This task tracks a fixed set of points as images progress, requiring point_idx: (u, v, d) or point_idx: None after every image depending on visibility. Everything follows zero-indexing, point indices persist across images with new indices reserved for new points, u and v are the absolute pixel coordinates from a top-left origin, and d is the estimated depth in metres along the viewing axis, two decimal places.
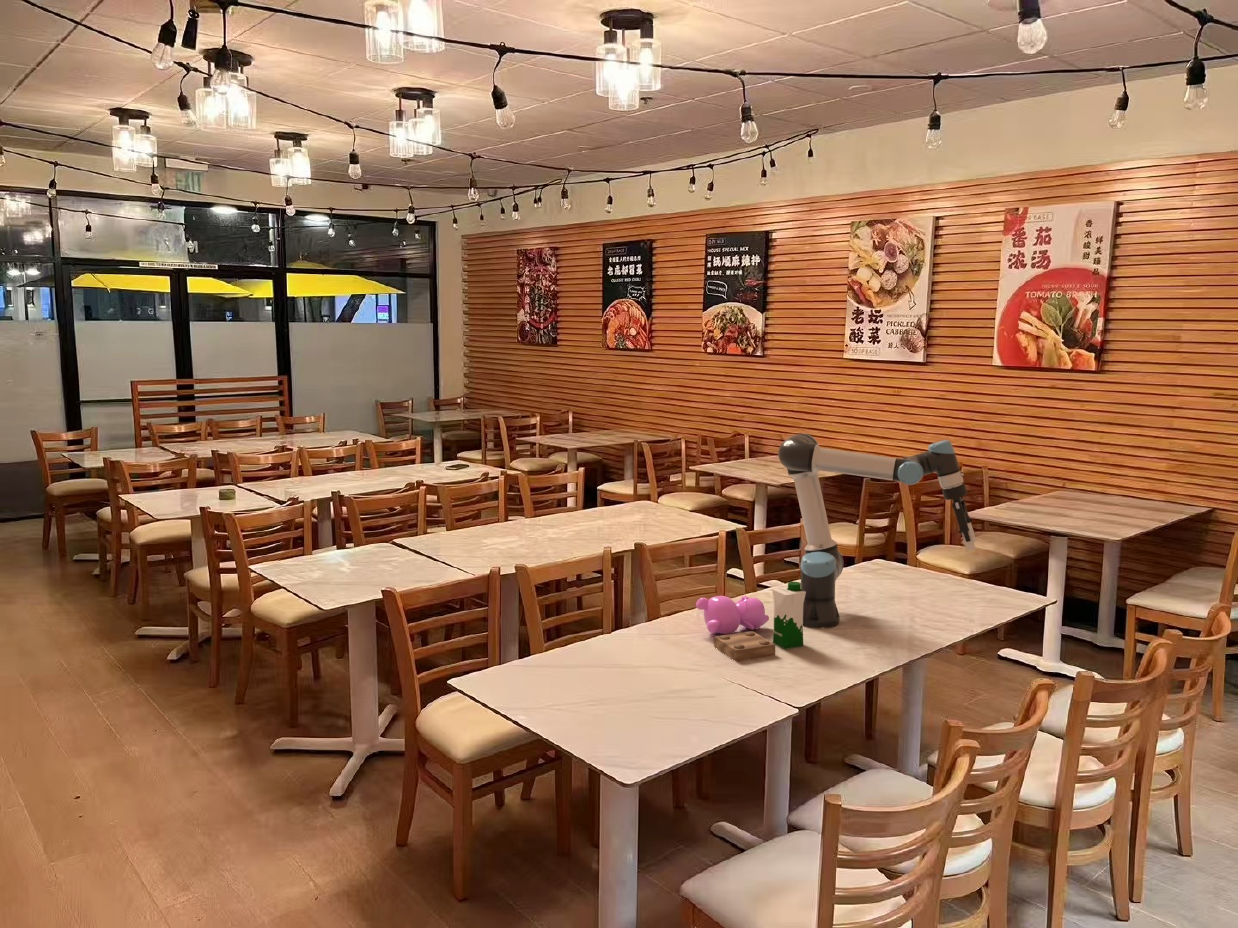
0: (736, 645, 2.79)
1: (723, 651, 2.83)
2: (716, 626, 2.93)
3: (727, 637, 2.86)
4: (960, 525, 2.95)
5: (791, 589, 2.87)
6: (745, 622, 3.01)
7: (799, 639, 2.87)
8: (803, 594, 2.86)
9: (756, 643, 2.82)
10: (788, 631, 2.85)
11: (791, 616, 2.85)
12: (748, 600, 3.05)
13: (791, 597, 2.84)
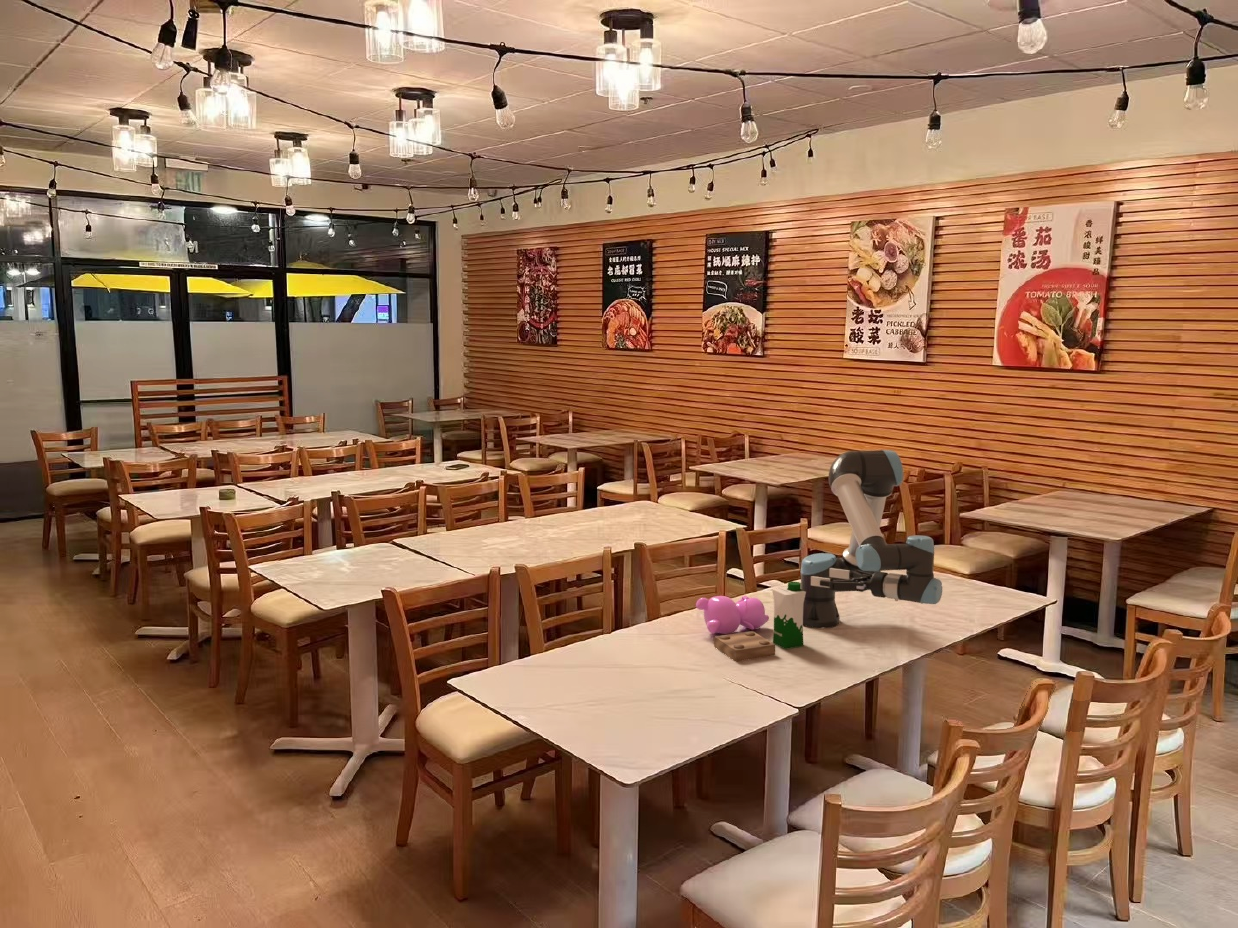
0: (736, 645, 2.79)
1: (723, 651, 2.83)
2: (716, 626, 2.93)
3: (727, 637, 2.86)
4: (836, 584, 2.68)
5: (791, 589, 2.88)
6: (745, 622, 3.01)
7: (799, 639, 2.87)
8: (803, 594, 2.86)
9: (756, 643, 2.82)
10: (788, 631, 2.85)
11: (791, 616, 2.85)
12: (748, 600, 3.05)
13: (791, 597, 2.84)
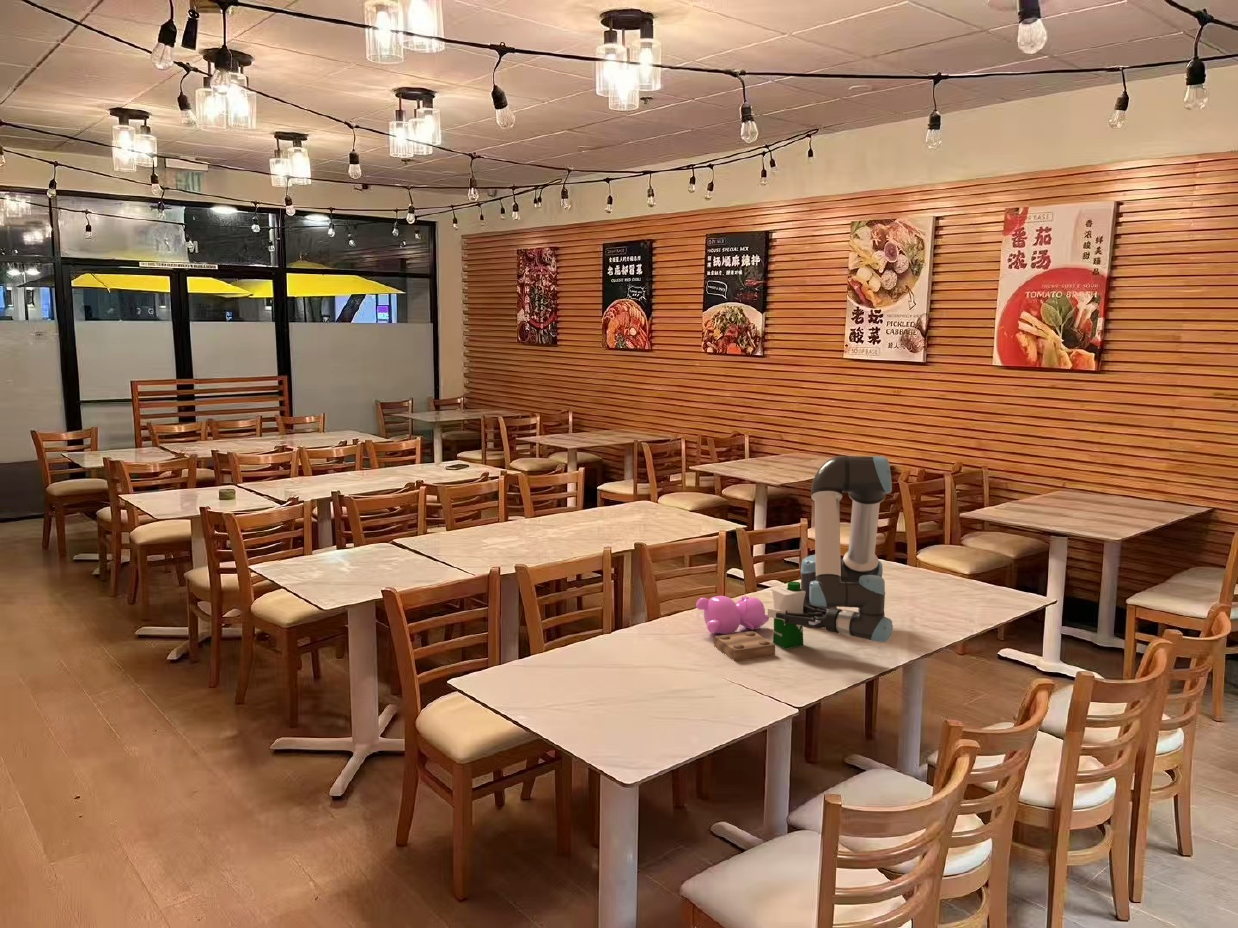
0: (736, 645, 2.79)
1: (723, 651, 2.83)
2: (716, 626, 2.93)
3: (727, 637, 2.86)
4: (790, 617, 2.80)
5: (791, 589, 2.87)
6: (745, 622, 3.01)
7: (799, 639, 2.87)
8: (803, 594, 2.86)
9: (756, 643, 2.82)
10: (788, 630, 2.85)
11: None
12: (748, 600, 3.05)
13: (791, 597, 2.84)
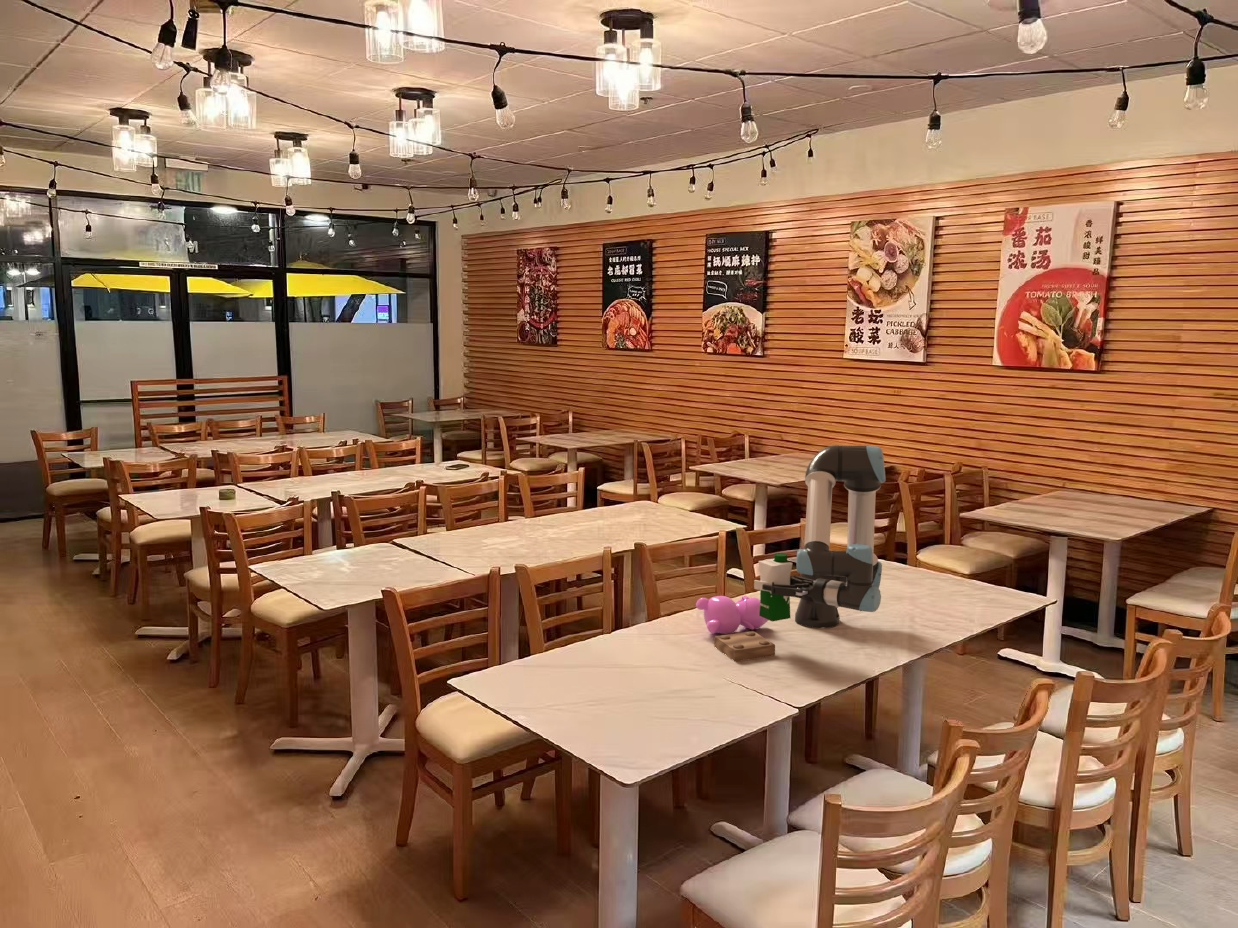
0: (736, 645, 2.79)
1: (723, 651, 2.83)
2: (716, 626, 2.93)
3: (727, 637, 2.86)
4: (777, 588, 2.76)
5: (778, 560, 2.83)
6: (745, 622, 3.01)
7: (786, 611, 2.83)
8: (790, 565, 2.82)
9: (756, 643, 2.82)
10: (775, 602, 2.81)
11: None
12: (748, 600, 3.05)
13: (778, 568, 2.80)
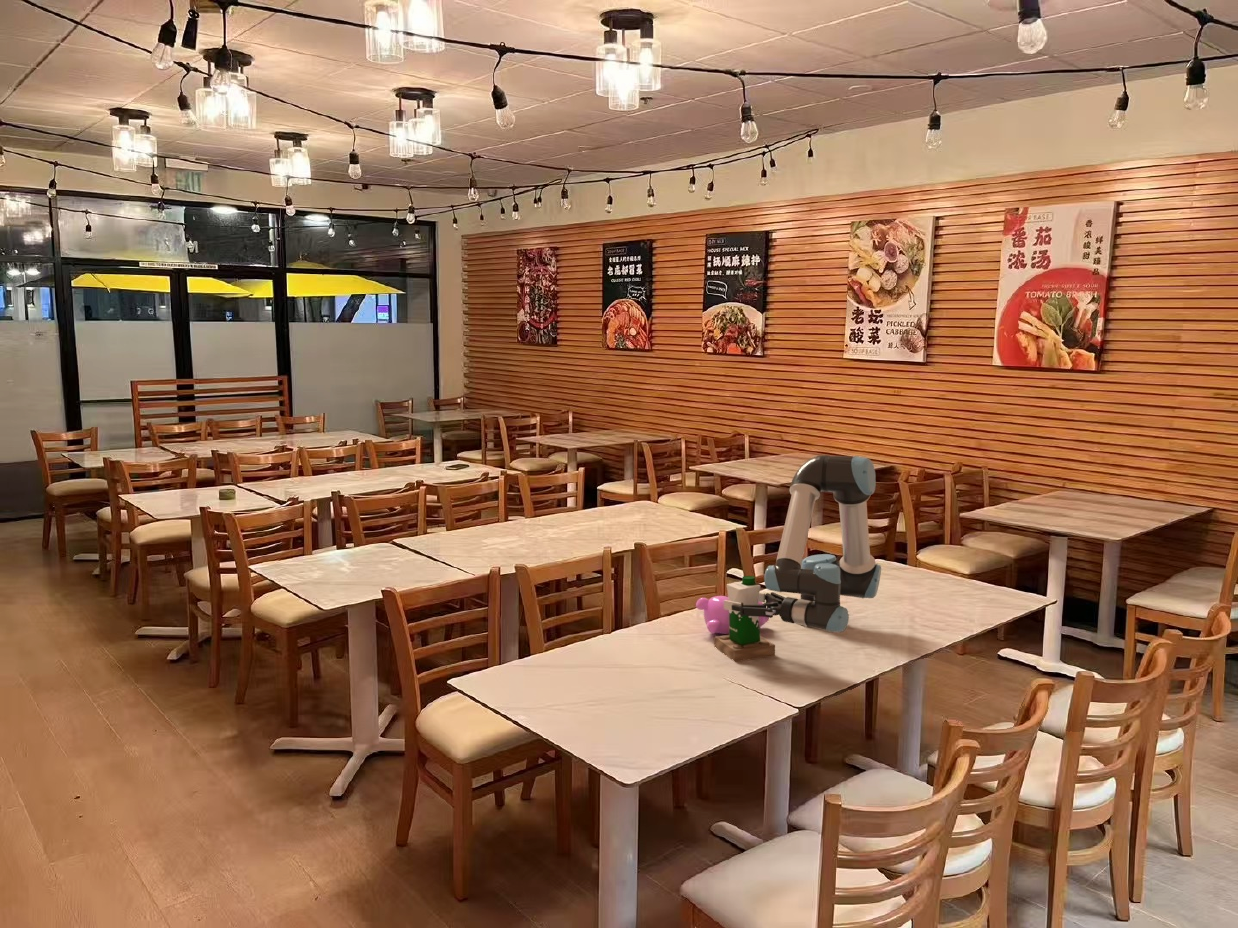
0: (735, 645, 2.79)
1: (723, 652, 2.83)
2: (716, 626, 2.93)
3: (727, 637, 2.87)
4: (746, 609, 2.71)
5: (745, 583, 2.81)
6: None
7: (755, 634, 2.81)
8: (758, 588, 2.79)
9: (756, 643, 2.82)
10: (744, 626, 2.79)
11: None
12: None
13: (745, 591, 2.77)
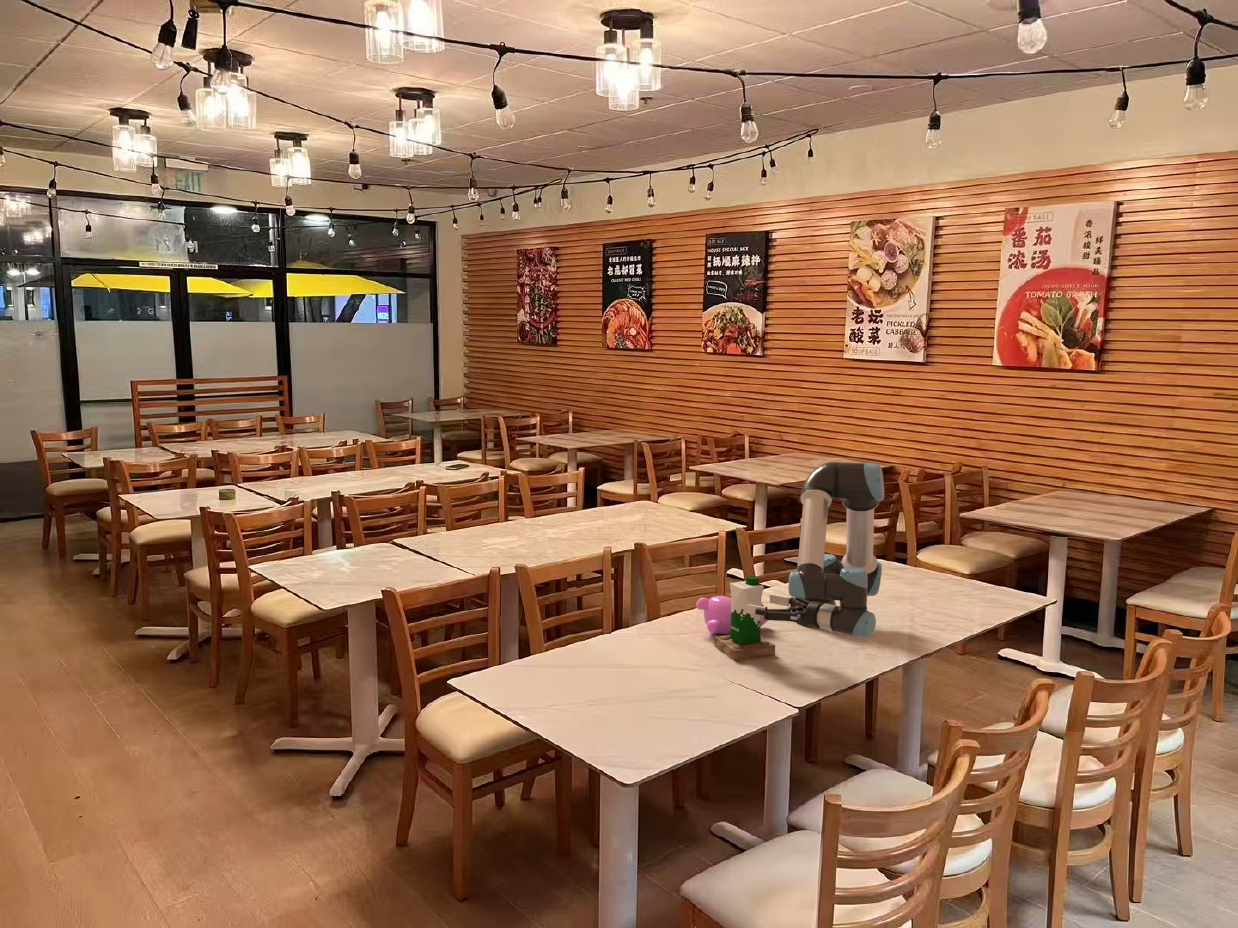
0: (735, 645, 2.79)
1: (723, 652, 2.83)
2: (716, 626, 2.93)
3: (727, 637, 2.86)
4: (770, 613, 2.66)
5: (749, 583, 2.81)
6: None
7: (756, 634, 2.81)
8: (761, 588, 2.79)
9: (756, 643, 2.81)
10: (745, 626, 2.79)
11: None
12: None
13: (748, 591, 2.77)
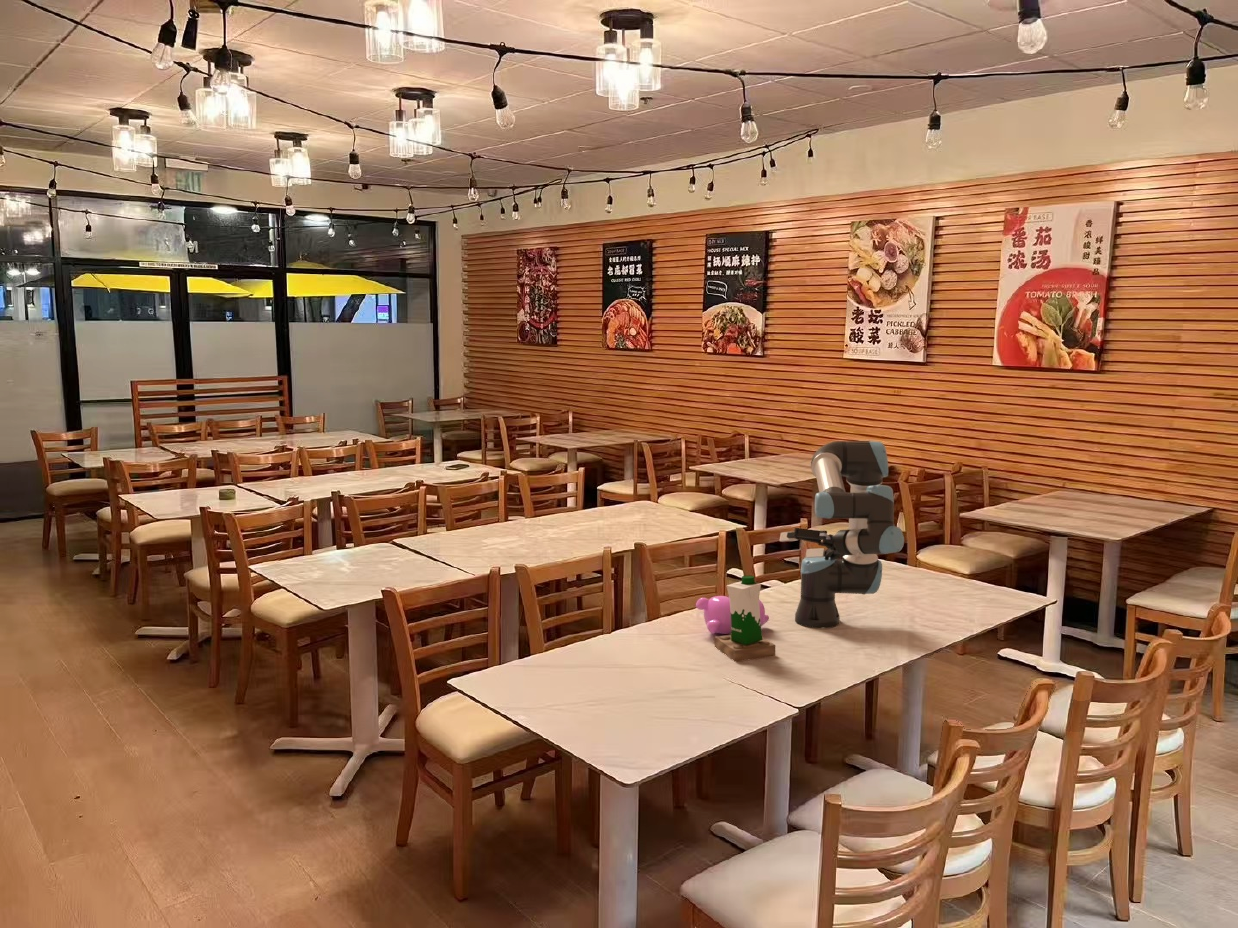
0: (736, 645, 2.79)
1: (723, 652, 2.83)
2: (716, 626, 2.93)
3: (727, 637, 2.86)
4: (800, 529, 2.69)
5: (746, 583, 2.81)
6: None
7: (758, 633, 2.81)
8: (759, 587, 2.80)
9: (756, 643, 2.81)
10: (748, 625, 2.79)
11: (749, 610, 2.78)
12: None
13: (747, 591, 2.78)
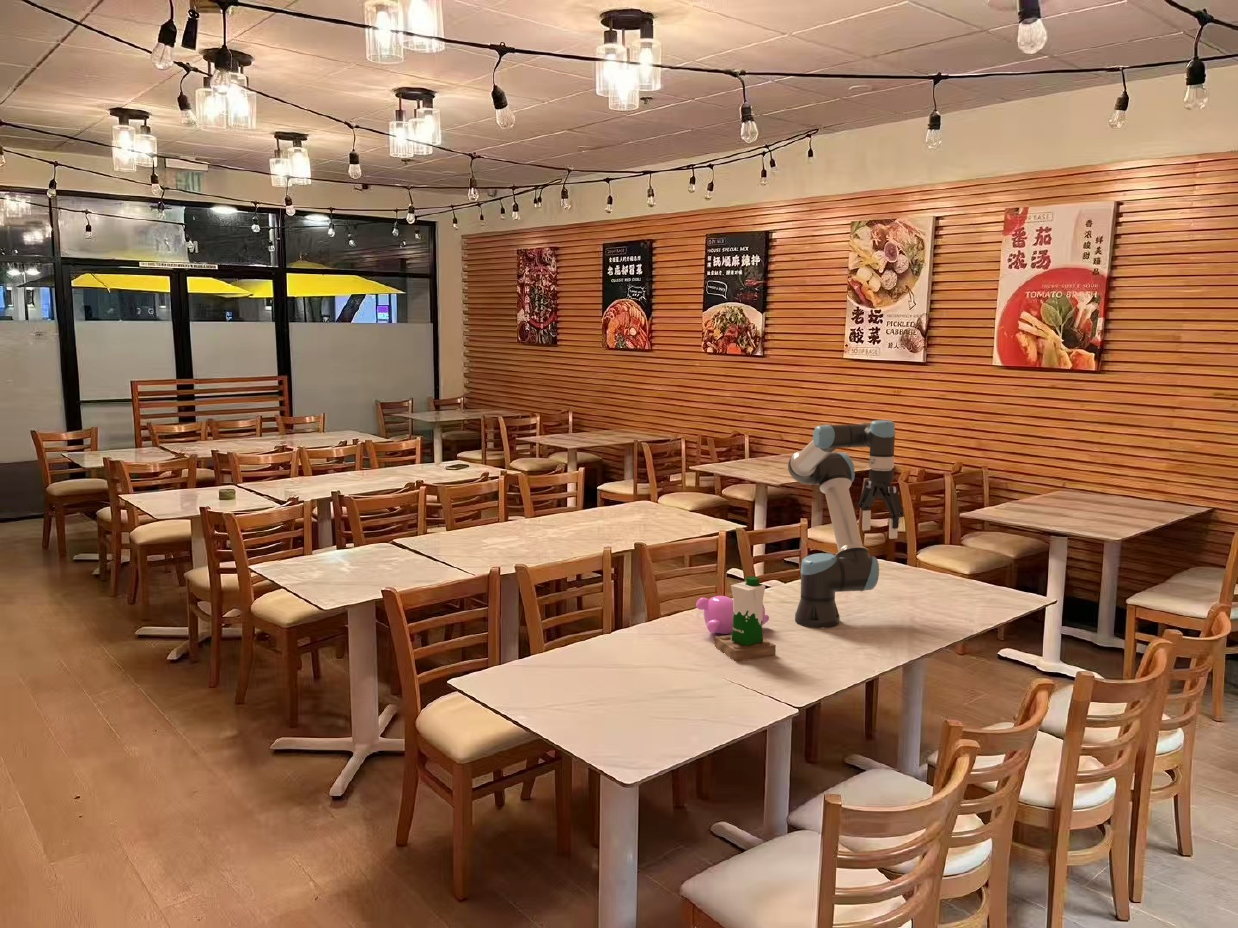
0: (736, 645, 2.79)
1: (723, 652, 2.83)
2: (716, 626, 2.93)
3: (728, 637, 2.86)
4: None
5: (750, 584, 2.80)
6: None
7: (760, 634, 2.81)
8: (763, 588, 2.80)
9: (756, 643, 2.81)
10: (750, 627, 2.78)
11: (753, 611, 2.77)
12: None
13: (753, 592, 2.77)
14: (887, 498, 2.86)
